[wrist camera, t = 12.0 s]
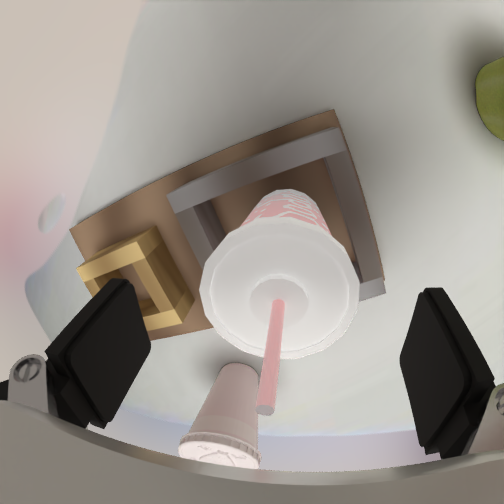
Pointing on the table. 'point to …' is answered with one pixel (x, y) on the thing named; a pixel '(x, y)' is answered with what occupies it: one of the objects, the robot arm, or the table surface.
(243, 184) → the fitting board
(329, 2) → the table surface
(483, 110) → the plant pot
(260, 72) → the table surface
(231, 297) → the beverage cup
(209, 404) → the smoothie
